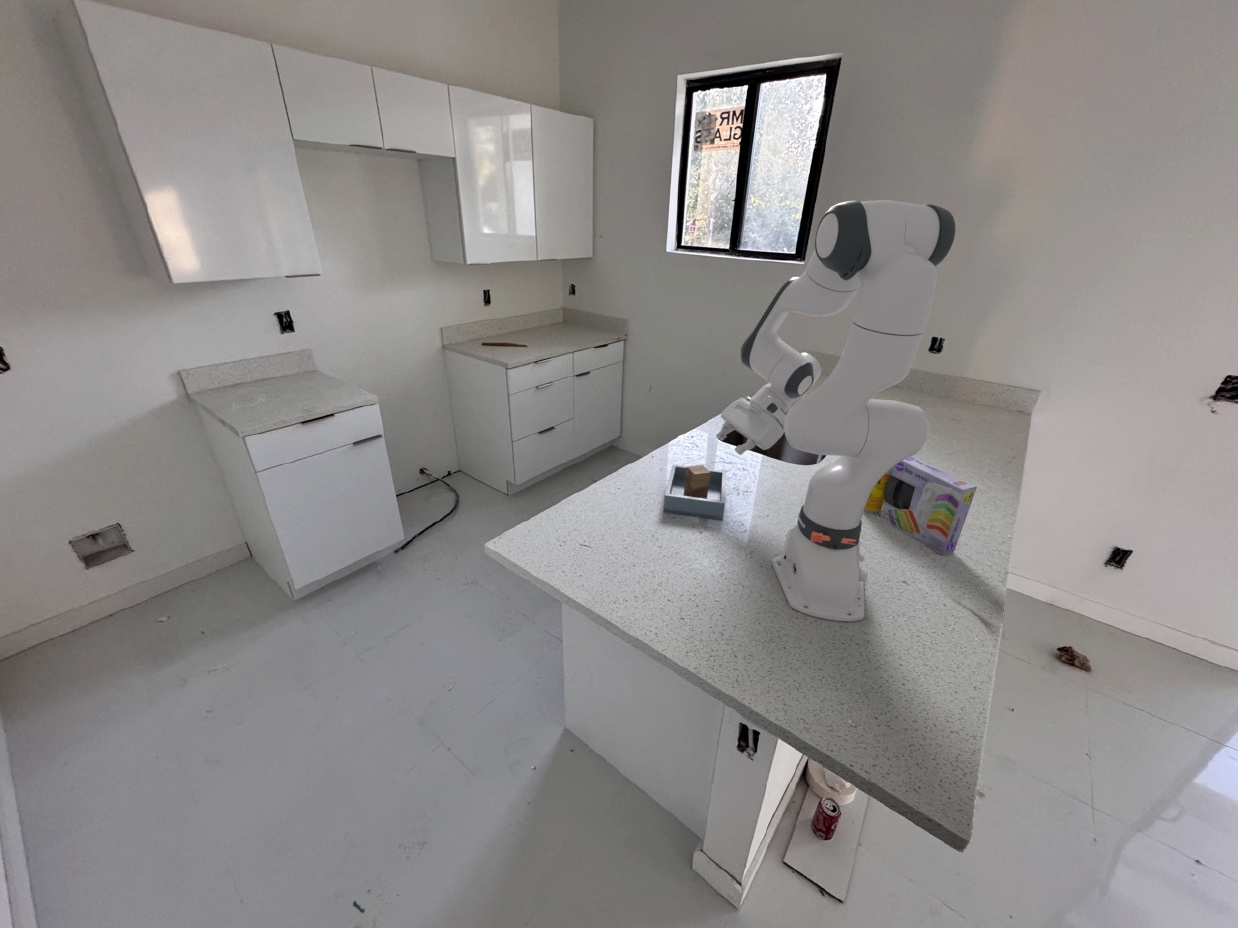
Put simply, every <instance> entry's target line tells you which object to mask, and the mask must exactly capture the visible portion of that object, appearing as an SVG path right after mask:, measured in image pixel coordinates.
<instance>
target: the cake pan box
mask: <svg viewBox="0 0 1238 928" xmlns="http://www.w3.org/2000/svg"><path fill="white" fill-rule="evenodd" d="M977 487H978V486H977V485H974V484H972V483H969V482H967V481H965V480H963V479H960V478H959V477H957V476H954V475H952V474H951V473H950V472H948V471H946V470H944V469H941V468H939V467H937V466H935V465H933V464H929V463H927V462H925V461H923V460H922V459H919V458H918V457H915V456H914V455H913V456H910V457H908V458H906V459H904V460H902V461H901V462H899V463H898V464H896V465H895V466H894V467H893V471H892V475H891V476H890V477H889V479H888V480H887V482H886V485H885V489H884V500H885V501H884V504H883V507H882V509H881V511H880V512H881V513H880V516H879V517H880V518H881V519H883V520H885V521H886V522H888V523H889V524H891V525H893V526H894V527H896V528H897V529H898V530H901V531H903V532H904V533H905V534H907V535H909V536H910V537H912V538H913V539H916V540H917V541H918V542H920V543H922V544H923V545H924V546H926V547H928V548H930V549H931V550H933V551H935V553H938V554H940V555H941V556H942V555H946V554H952V553H954V552H955V551H956V547H957V546H958V542H959V539H960V537H961V534H962V530H963V528H964V525H965V522H966V520H967V519H966V518H967V516H968V514H969V510H970V508H971V505H972V502H973V499H974V496H975V494H976V491H977Z"/></svg>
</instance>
